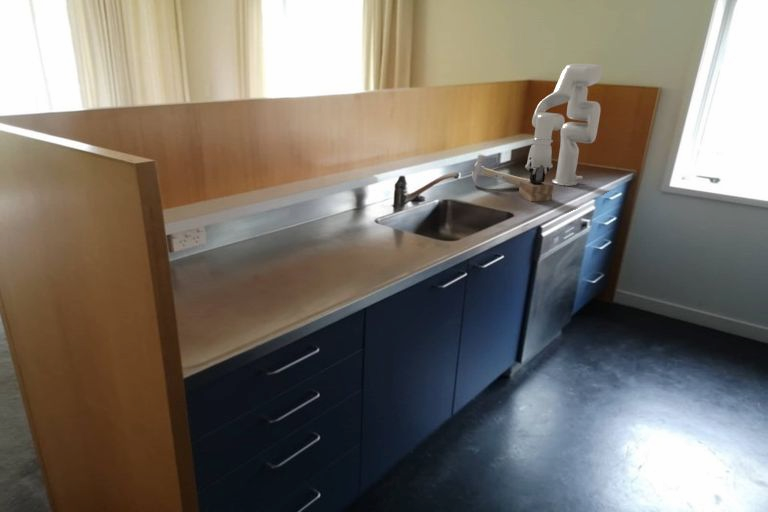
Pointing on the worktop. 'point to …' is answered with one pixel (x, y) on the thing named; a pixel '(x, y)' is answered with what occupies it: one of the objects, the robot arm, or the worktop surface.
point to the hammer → (493, 173)
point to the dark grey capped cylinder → (539, 175)
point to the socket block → (535, 191)
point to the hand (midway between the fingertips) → (536, 181)
